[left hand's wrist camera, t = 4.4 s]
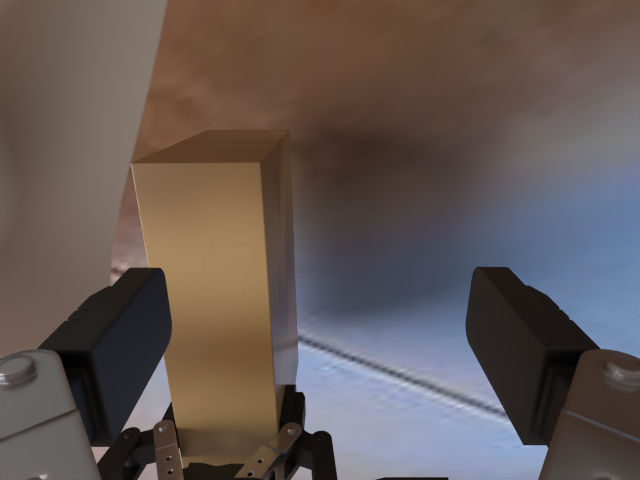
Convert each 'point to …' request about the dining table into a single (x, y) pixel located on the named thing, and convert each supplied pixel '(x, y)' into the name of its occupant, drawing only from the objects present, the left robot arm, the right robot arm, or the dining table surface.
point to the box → (224, 285)
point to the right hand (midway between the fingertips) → (243, 394)
